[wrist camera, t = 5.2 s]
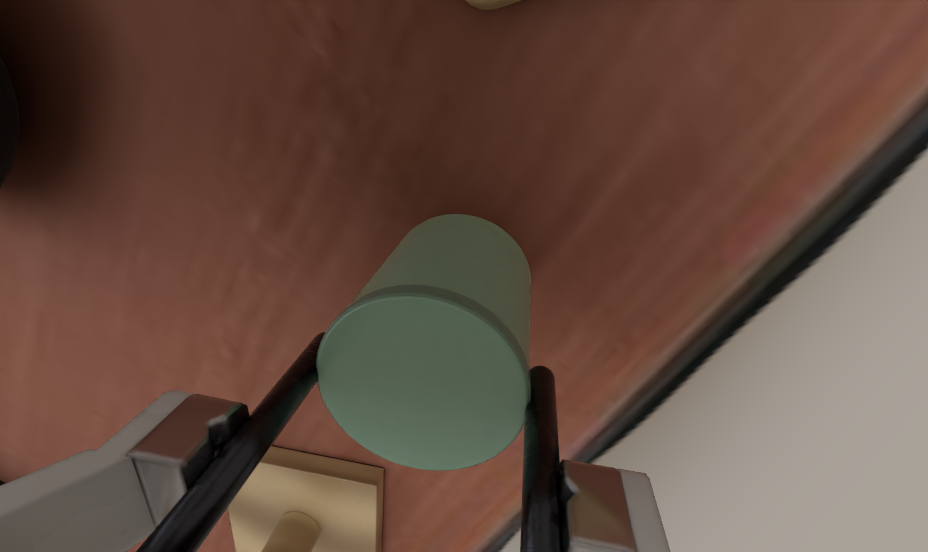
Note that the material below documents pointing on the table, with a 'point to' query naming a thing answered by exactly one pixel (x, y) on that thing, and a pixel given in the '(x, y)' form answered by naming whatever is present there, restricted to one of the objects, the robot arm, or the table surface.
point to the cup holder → (308, 505)
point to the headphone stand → (490, 3)
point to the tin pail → (414, 379)
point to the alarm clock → (7, 123)
